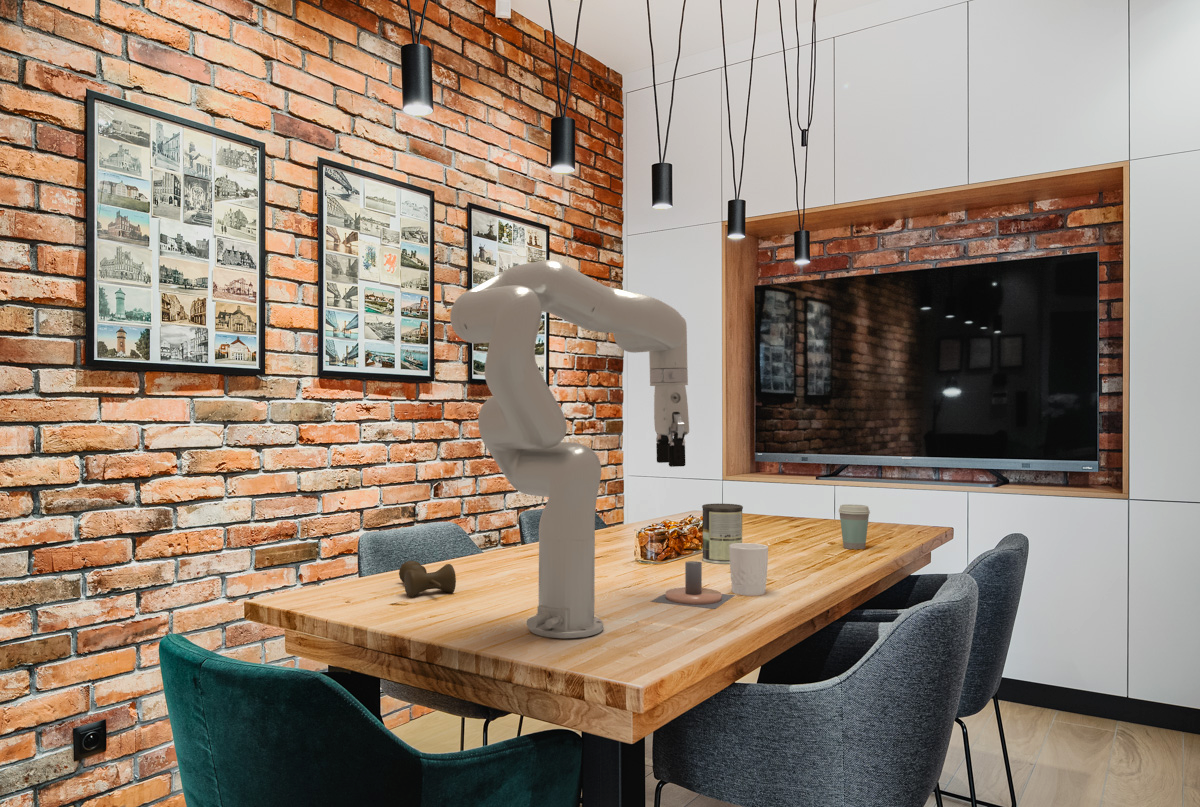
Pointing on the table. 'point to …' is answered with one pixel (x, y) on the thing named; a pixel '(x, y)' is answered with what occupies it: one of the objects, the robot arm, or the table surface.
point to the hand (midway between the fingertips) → (670, 464)
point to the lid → (693, 588)
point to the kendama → (426, 578)
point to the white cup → (748, 568)
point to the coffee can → (720, 531)
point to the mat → (711, 606)
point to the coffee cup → (854, 525)
